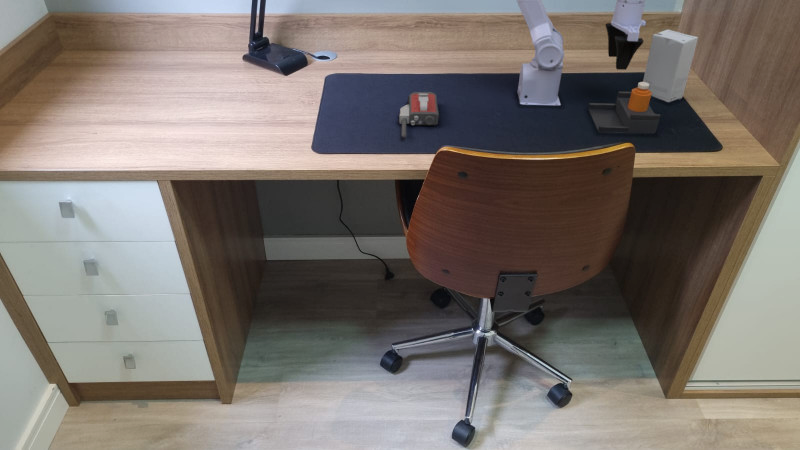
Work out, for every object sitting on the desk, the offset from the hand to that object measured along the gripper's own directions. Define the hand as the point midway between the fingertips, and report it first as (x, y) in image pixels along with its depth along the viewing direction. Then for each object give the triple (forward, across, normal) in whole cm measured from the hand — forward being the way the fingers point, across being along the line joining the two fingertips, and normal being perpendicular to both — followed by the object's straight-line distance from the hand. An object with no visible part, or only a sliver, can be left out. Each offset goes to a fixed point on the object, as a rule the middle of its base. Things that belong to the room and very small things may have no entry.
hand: (617, 62), depth 127 cm
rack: (+10, -9, -1) cm, 14 cm away
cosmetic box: (+11, +6, -14) cm, 18 cm away
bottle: (+7, -9, -4) cm, 12 cm away
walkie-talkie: (+10, -11, +44) cm, 47 cm away
